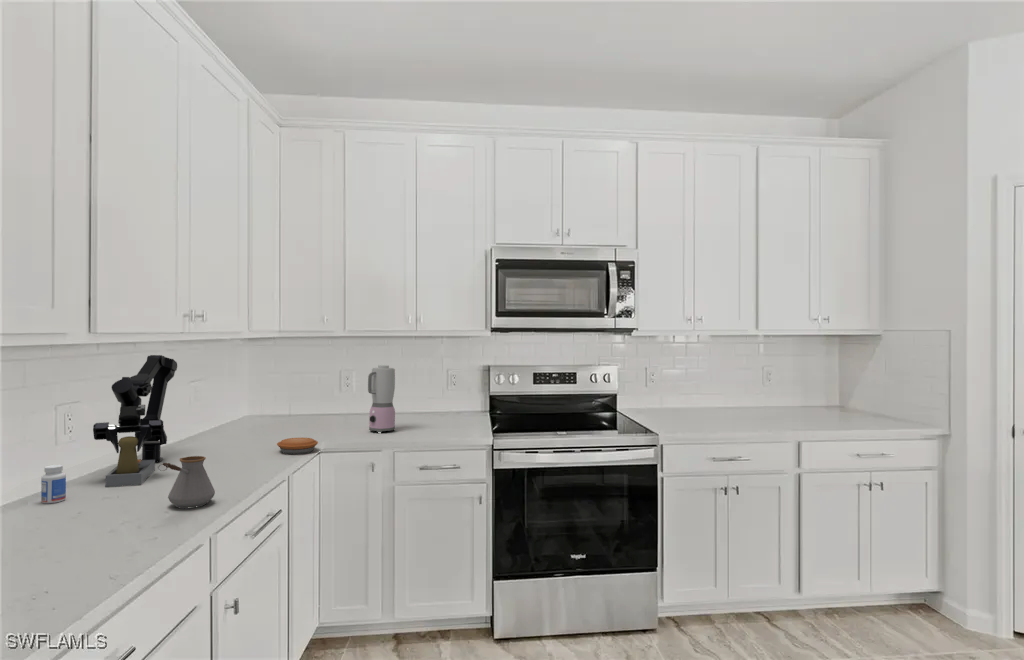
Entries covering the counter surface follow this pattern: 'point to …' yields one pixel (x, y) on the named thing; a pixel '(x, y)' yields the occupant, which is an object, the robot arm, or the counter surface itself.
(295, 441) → the pie
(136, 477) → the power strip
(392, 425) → the blender
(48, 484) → the pill bottle
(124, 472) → the cork
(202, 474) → the coffee pot
